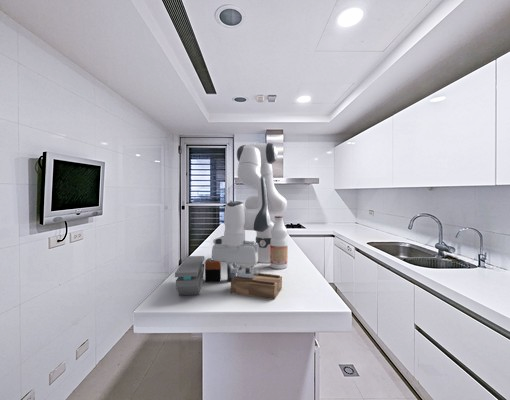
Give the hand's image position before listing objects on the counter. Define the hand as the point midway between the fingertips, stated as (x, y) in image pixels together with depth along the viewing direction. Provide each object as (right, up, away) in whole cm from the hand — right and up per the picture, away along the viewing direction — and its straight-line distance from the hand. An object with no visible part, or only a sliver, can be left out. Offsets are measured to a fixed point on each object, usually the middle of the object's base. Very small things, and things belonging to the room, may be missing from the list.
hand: (234, 272), depth 106 cm
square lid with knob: (+6, -1, -2) cm, 6 cm away
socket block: (+9, -6, -3) cm, 12 cm away
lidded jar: (+4, -6, +29) cm, 30 cm away
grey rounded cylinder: (-2, -6, +9) cm, 11 cm away
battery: (-11, -6, +9) cm, 15 cm away
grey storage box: (-18, -7, -2) cm, 19 cm away
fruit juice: (+22, -6, +32) cm, 39 cm away
